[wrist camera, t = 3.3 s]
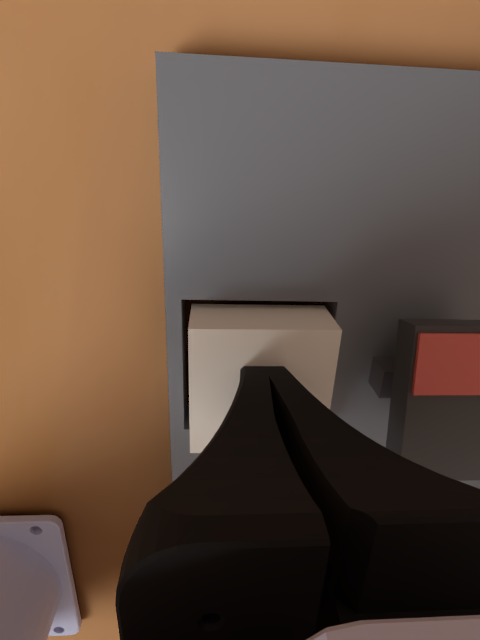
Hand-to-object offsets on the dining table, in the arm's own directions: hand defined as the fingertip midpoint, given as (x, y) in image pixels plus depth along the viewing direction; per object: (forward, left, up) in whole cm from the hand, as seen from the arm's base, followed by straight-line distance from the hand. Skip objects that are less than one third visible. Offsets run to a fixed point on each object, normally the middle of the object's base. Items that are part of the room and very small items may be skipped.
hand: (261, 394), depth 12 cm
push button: (0, 0, -2) cm, 2 cm away
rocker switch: (+5, 0, 0) cm, 6 cm away
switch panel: (+5, -2, -3) cm, 6 cm away
